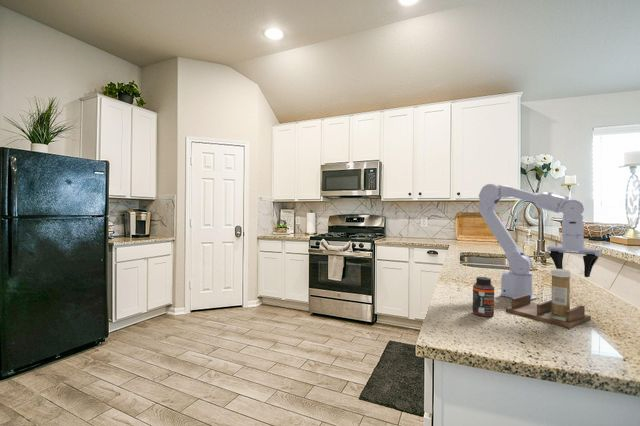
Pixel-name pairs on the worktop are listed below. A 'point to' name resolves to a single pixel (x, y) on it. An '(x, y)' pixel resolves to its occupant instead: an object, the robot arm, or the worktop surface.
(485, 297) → the supplement bottle
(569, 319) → the slot rack
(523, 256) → the robot arm
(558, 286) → the sprinkles bottle
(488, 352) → the worktop surface
